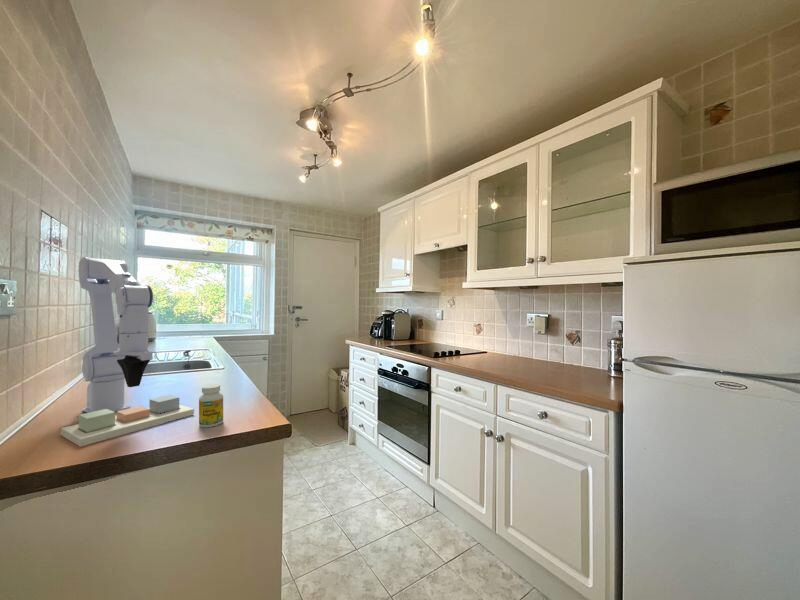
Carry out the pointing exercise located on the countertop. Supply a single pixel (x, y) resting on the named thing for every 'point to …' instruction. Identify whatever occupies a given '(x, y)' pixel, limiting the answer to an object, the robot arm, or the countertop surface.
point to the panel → (122, 426)
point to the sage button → (96, 420)
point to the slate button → (164, 404)
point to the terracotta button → (133, 414)
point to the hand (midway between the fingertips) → (133, 386)
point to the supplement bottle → (210, 406)
